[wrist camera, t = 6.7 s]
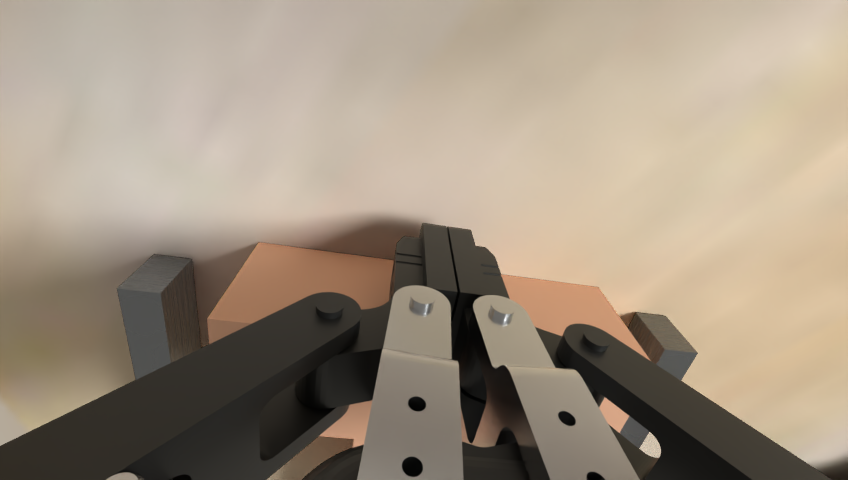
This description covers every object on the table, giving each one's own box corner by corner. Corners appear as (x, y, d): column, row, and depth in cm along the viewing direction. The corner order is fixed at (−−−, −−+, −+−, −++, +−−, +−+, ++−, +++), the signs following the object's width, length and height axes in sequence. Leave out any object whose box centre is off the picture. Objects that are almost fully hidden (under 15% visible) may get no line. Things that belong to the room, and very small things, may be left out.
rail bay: (665, 315, 16) (697, 353, 14) (545, 536, 23) (557, 580, 21) (153, 254, 14) (116, 288, 12) (193, 516, 21) (173, 562, 19)
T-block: (598, 287, 15) (656, 368, 12) (510, 487, 21) (531, 584, 17) (258, 242, 14) (207, 318, 10) (260, 468, 19) (227, 569, 16)
